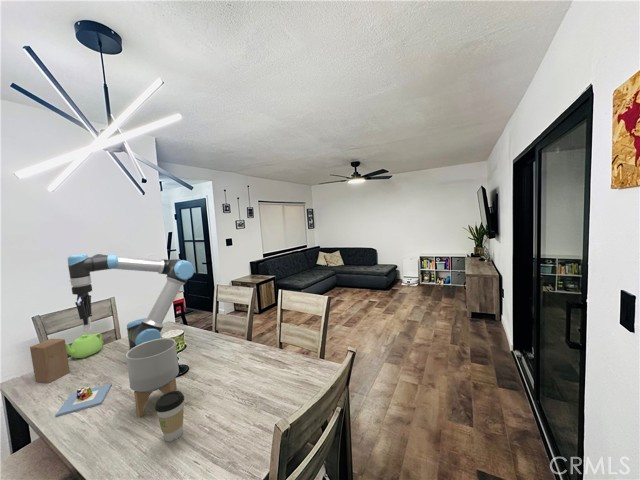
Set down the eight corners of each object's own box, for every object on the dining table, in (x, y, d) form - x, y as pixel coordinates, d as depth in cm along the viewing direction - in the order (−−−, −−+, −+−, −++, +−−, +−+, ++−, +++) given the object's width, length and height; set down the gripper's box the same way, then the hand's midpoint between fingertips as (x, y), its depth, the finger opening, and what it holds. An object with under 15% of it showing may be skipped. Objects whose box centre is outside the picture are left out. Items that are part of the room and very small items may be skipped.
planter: (190, 392, 126) (184, 340, 124) (154, 421, 108) (147, 361, 106) (161, 386, 132) (155, 336, 130) (122, 413, 114) (115, 356, 112)
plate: (111, 384, 135) (111, 382, 135) (101, 404, 121) (101, 401, 121) (71, 395, 129) (71, 393, 129) (55, 417, 114) (55, 414, 114)
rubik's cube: (77, 400, 124) (73, 392, 122) (89, 392, 128) (85, 383, 127) (82, 402, 122) (78, 393, 121) (94, 393, 127) (90, 385, 125)
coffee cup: (166, 426, 105) (162, 390, 104) (191, 423, 106) (188, 388, 105) (153, 447, 96) (148, 408, 94) (181, 443, 96) (176, 405, 95)
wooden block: (49, 383, 140) (43, 347, 139) (35, 382, 142) (29, 346, 141) (70, 372, 150) (65, 338, 148) (56, 371, 152) (51, 338, 150)
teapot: (72, 366, 157) (68, 345, 156) (56, 362, 162) (53, 342, 161) (111, 348, 178) (108, 329, 177) (96, 345, 183) (94, 327, 182)
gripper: (77, 283, 136) (83, 327, 138) (65, 289, 125) (73, 337, 127) (95, 281, 139) (101, 324, 142) (86, 286, 128) (92, 333, 130)
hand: (88, 330), depth 134 cm, fingers closed
